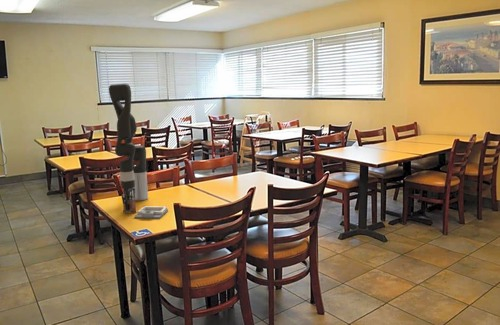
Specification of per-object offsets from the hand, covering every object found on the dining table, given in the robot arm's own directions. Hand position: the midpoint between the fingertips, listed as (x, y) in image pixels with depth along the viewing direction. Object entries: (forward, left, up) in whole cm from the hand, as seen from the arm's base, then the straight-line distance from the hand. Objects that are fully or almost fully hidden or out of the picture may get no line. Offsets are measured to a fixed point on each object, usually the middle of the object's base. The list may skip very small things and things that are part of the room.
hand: (129, 208), depth 237 cm
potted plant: (0, 0, -2) cm, 2 cm away
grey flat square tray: (+4, +14, -2) cm, 15 cm away
